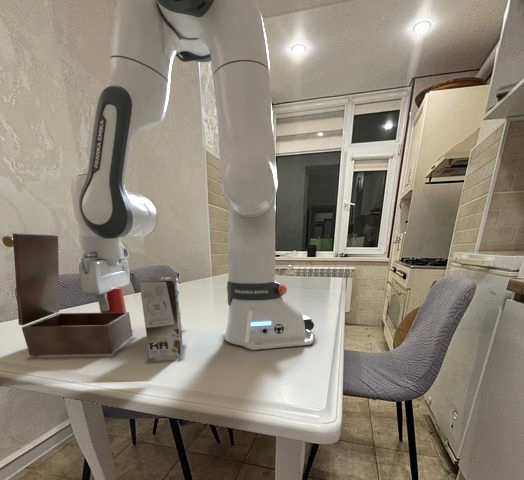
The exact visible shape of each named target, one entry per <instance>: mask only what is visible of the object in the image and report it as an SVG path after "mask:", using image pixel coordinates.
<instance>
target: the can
mask: <svg viewBox="0 0 524 480" xmlns="http://www.w3.org/2000/svg"><path fill="white" fill-rule="evenodd" d="M107 300H108V303H110V307H111V309H110V310H109V311H102V310H101V306H100V304H99V303H98V307H99V313H113V312H127V307H126V301H125V296H124V291H123V287H117V288H115V289H112V291H109V292H107Z"/></svg>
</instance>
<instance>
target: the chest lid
mask: <svg viewBox="0 0 524 480" xmlns="http://www.w3.org/2000/svg"><path fill="white" fill-rule="evenodd" d="M1 240H2V241H1V242H2V244H3V246H5V247H7V248H13V259H14V261H13V262H14V273H15V275H14V276H15V288H16V289H15V290H16V291H15V292H16V305H17V319H18V326H26V325H29V324H32V323H34V322H37V321H40V320H42V319H45V318H47V317H50V316H53V315H55V314H58V313H60V277H59V276H60V268H59V265H60V264H59V236H58V235H55V234H38V233H37V234H36V233H16V232H13V233H12V236H11V235H9V236H8V235H5V236H3V237H2V239H1Z"/></svg>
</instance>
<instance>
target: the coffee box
mask: <svg viewBox="0 0 524 480" xmlns="http://www.w3.org/2000/svg"><path fill="white" fill-rule="evenodd" d="M176 278H177V276H175V275H174V276H171V275H170V276H169V275H168V276H155V277H154V276H153V277H150V276H149V277H148V276H147V277H145V278H143V279H142V280H140V281H139V289H140V297H141V304H142V311H143V320H144V326H145V333H146V339H147V349H148V356H149V357H148V358H149V359H150V360H153V359H169V358H178V360H181V359H182V352H183V345H184V343H183V341H184V340H183V332H182V331H183V329H182V330H181V321H180V311H179V301H178V291H177V281H176Z"/></svg>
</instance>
